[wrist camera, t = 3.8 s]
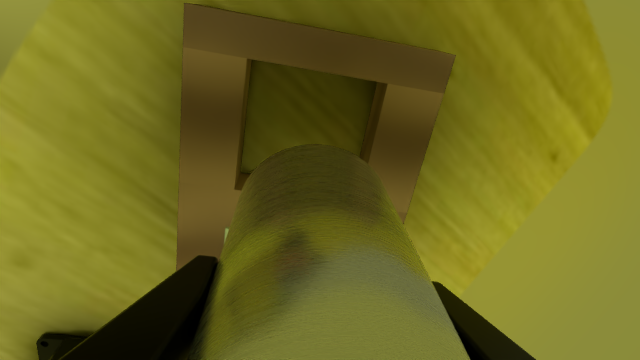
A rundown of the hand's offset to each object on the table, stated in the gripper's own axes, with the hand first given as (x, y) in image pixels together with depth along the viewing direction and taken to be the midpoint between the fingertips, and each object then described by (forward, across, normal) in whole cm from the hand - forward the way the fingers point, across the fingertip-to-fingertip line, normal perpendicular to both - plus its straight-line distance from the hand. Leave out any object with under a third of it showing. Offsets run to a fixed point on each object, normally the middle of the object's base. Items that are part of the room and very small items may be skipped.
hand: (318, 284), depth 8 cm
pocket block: (+13, 0, +4) cm, 13 cm away
